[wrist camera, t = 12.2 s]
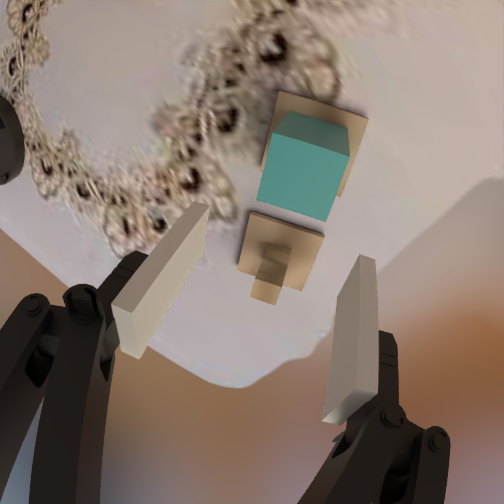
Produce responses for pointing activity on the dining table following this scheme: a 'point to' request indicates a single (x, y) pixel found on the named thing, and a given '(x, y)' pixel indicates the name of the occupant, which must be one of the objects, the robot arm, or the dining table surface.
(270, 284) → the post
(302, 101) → the post
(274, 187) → the teal rectangular block
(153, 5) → the dining table surface
